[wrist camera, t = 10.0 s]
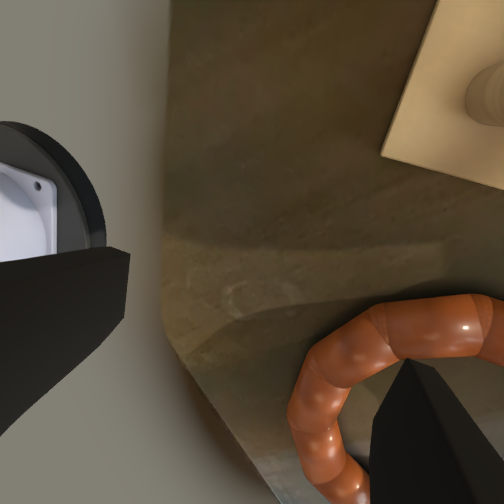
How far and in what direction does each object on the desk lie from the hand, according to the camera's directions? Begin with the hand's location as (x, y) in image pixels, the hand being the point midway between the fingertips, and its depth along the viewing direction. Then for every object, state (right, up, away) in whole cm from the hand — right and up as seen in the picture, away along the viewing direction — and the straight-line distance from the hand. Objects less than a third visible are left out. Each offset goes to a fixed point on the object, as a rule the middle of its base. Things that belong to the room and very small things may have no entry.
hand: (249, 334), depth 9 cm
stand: (+9, +8, +5) cm, 13 cm away
